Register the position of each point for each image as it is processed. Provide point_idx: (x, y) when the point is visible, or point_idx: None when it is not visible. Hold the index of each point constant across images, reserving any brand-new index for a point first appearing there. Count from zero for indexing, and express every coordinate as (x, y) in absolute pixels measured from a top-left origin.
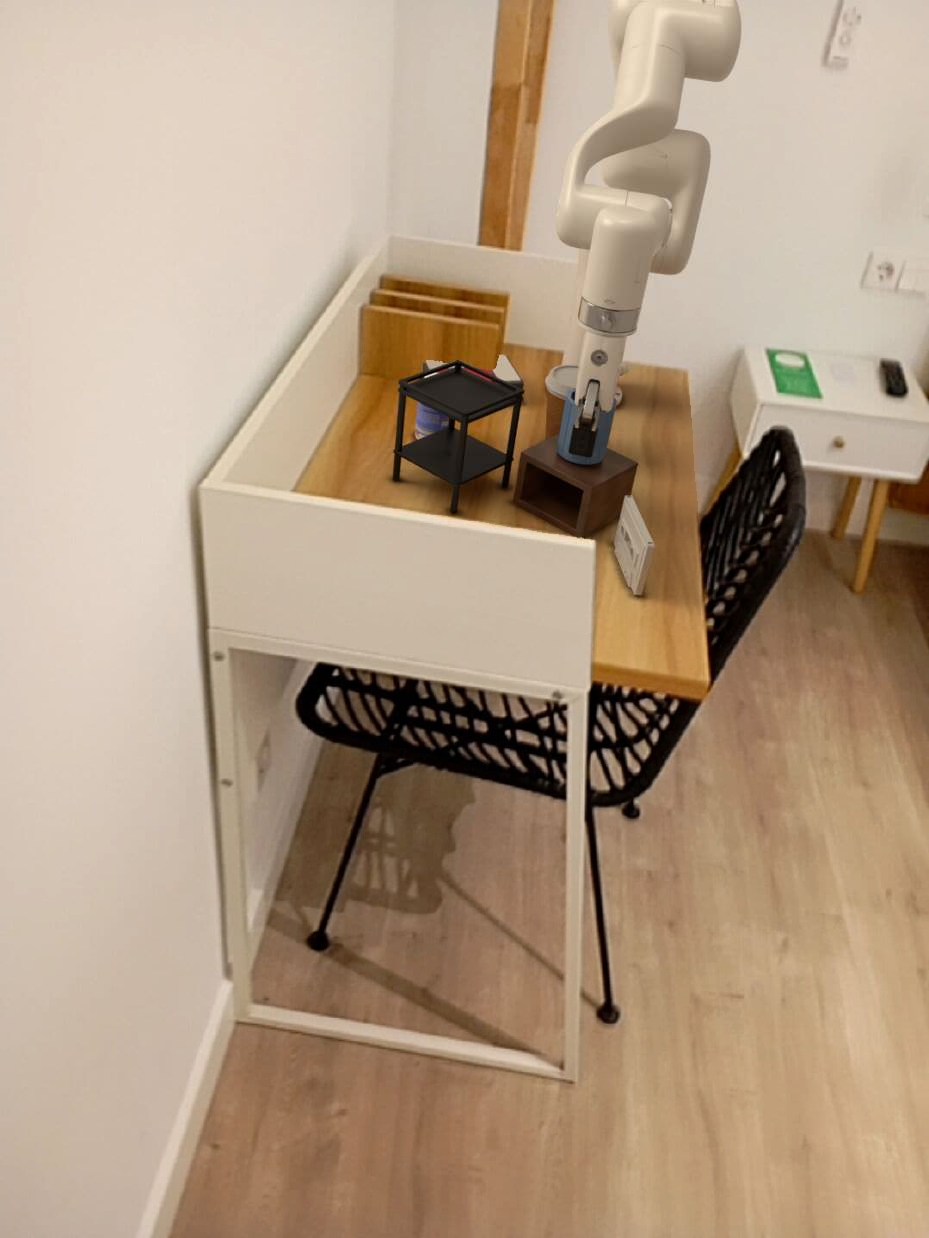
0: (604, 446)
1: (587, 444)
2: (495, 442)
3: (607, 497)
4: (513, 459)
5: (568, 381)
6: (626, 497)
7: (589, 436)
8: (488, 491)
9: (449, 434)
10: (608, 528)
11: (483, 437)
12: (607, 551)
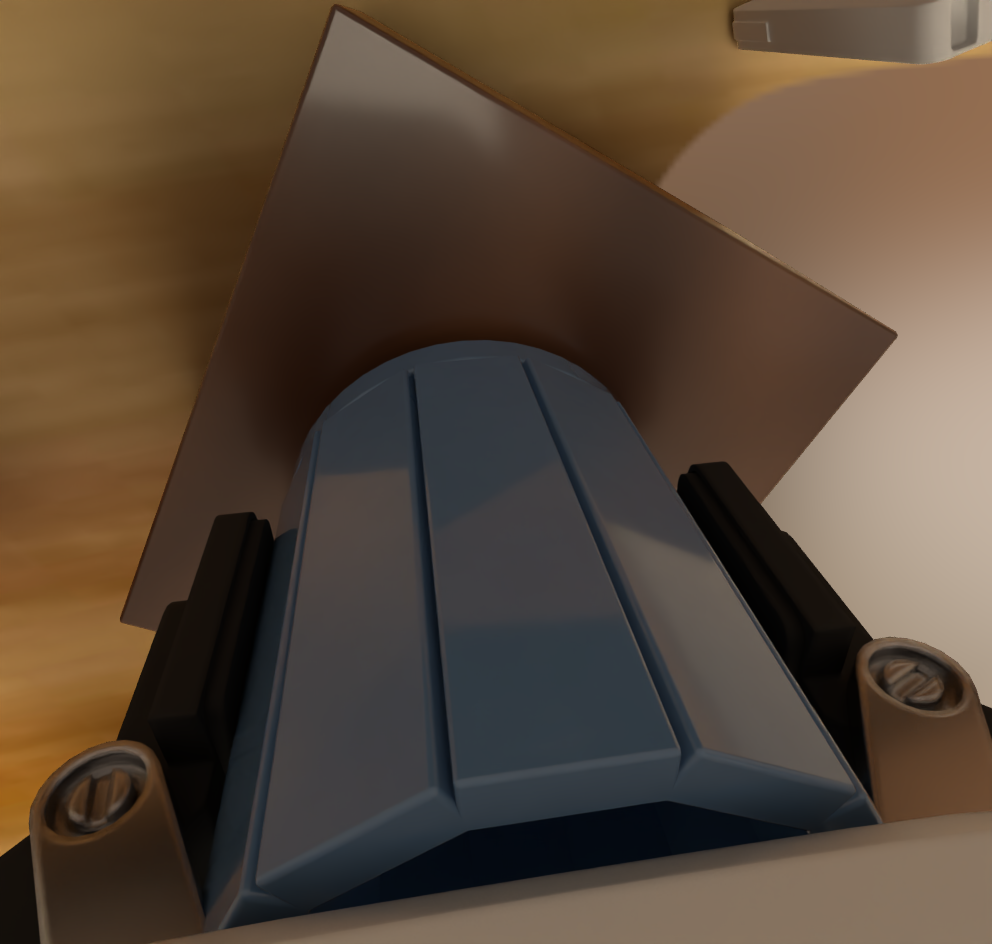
0: (584, 416)
1: (820, 577)
2: (76, 706)
3: (651, 185)
4: None
5: None
6: (972, 47)
7: (865, 633)
8: None
9: None
10: (580, 103)
11: (71, 744)
12: (808, 74)
